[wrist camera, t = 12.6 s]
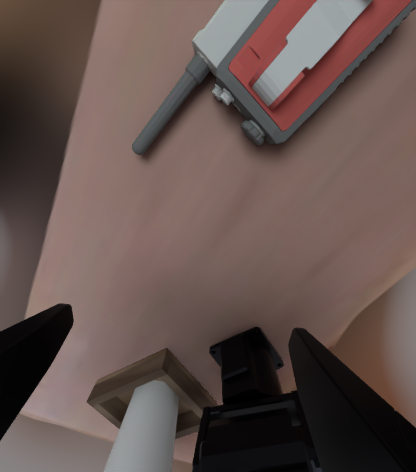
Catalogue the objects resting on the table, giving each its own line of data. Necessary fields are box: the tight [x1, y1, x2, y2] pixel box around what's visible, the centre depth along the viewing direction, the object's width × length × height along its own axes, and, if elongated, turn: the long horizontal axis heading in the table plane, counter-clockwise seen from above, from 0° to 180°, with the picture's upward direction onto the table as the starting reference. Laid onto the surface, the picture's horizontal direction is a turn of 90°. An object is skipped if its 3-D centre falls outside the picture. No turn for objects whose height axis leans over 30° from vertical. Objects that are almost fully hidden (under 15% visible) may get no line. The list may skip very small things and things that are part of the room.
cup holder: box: [87, 348, 216, 439], centre depth 27 cm, size 11×11×3 cm
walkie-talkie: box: [132, 0, 416, 155], centre depth 14 cm, size 9×4×20 cm
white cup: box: [103, 380, 179, 472], centre depth 23 cm, size 7×7×10 cm
